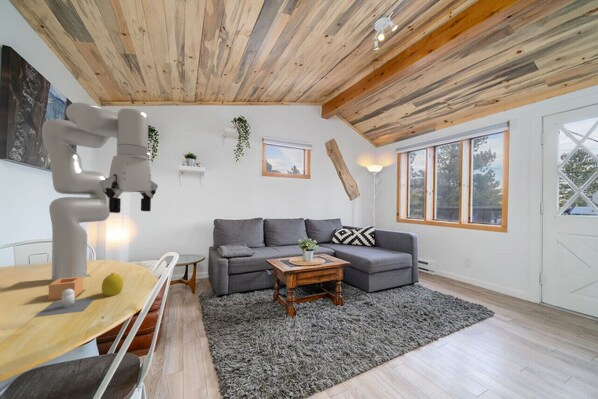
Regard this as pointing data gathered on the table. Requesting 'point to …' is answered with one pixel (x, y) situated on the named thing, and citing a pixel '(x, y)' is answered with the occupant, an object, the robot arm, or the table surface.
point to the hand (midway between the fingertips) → (131, 211)
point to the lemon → (112, 285)
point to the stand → (61, 299)
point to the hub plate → (59, 310)
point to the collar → (65, 287)
